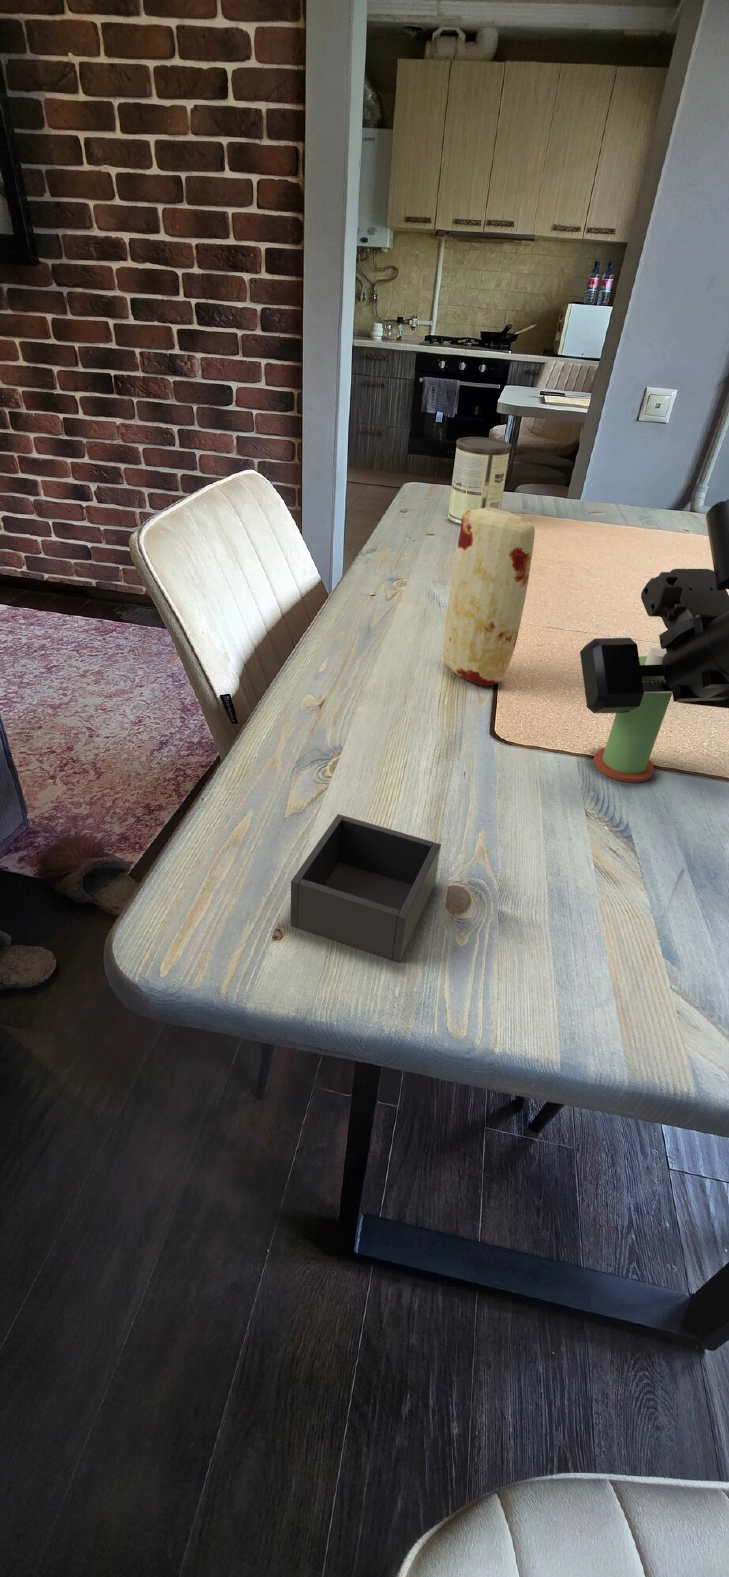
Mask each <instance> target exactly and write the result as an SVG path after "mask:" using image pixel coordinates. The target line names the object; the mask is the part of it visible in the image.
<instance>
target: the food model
mask: <svg viewBox="0 0 729 1577" xmlns="http://www.w3.org/2000/svg"><path fill="white" fill-rule="evenodd" d="M535 535H536V529H535V525H534V524H533V523H531V522H529V521H525V520H523V519H522V517H521V516H519V515H518V514H517V515H516V514H515V513H512V512H510V511H506V510H502V509H500V510H499V509H496V508H490V507H486V508H481V509H476V510H468V511H465V512H464V513H463V515H462V521H461V524H460V528H459V535H458V539H457V544H456V550H455V555H454V561H453V565H452V571H451V579H450V588H449V596H448V602H447V608H446V614H445V622H444V640H443V649H442V659H443V661H444V663H445V664H446V665H447V667H448V668H449V669H450V670H451V671H452V672H453V673H455V674H456V675H457V676H459V677H460V678H463V679H464V680H466V681H469V682H471V683H472V684H475V685H477V686H478V685H479V686H481V687H490V686H491V687H492V686H494V685H497V684H499V683H501V682H502V680H503V678H504V677H505V675H506V672H507V670H508V668H509V666H510V663H511V661H512V657H513V655H514V652H515V649H516V644H517V640H518V636H519V632H520V627H521V622H522V619H523V618H522V617H523V612H524V607H525V604H526V602H525V601H526V596H527V591H528V586H529V580H530V573H531V566H532V560H533V553H534V552H533V551H534V544H535V543H534V542H535Z"/></svg>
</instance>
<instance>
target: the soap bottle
mask: <svg viewBox="0 0 729 1577" xmlns="http://www.w3.org/2000/svg"><path fill="white" fill-rule="evenodd" d="M664 654H666V649H661V647H650V648H649V651H648V654H647V655H641V656H639V661H640V665H662V661H663V657H664ZM644 682H645V681H643V683H644ZM647 682H649V681H647ZM651 682H653V681H651ZM655 682H657V681H655ZM660 682H661V681H660ZM664 682H665V681H664ZM672 697H673V694H672V693H644V695H643V698H642V701H641V704H640V707H638V708H636V709H634V710H629V712H627V713H615V715H614V718H613V722H612V725H611V729H610V732H609V735H608V738H607V742H606V745H605V747H606V748H605V747H604V748H605V751H604V754H603V761H604V763H605V764H606V765H607V766H608V767H610V768H611V769H613V770H615V771H618V772H621V773H625V774H639V773H642V772H643V771H644V770H645V769H646V766H647V764H648V761H649V760H650V758H651V755H652V753H653V750H654V746H655V744H656V741H657V738H658V735H659V732H660V729H661V726H662V724H663V721H664V718H665V715H666V713H667V709H668V707H669V704H670V701H671V698H672Z"/></svg>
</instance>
